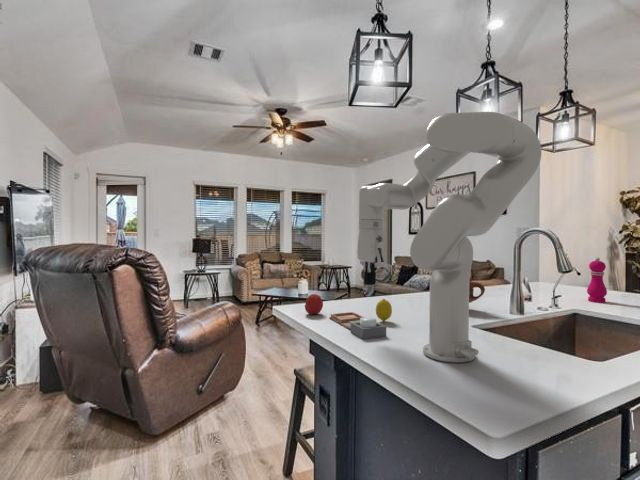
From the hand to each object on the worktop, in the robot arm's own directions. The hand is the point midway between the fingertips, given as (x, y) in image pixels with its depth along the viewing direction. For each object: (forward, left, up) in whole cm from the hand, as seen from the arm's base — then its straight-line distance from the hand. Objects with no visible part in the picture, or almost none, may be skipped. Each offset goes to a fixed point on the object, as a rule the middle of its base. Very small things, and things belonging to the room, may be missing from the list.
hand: (369, 284), depth 115 cm
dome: (-2, +2, -14) cm, 15 cm away
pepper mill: (+6, -120, -15) cm, 121 cm away
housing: (-2, +2, -15) cm, 15 cm away
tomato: (+30, +8, -15) cm, 34 cm away
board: (+11, 0, -15) cm, 19 cm away
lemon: (+10, -11, -15) cm, 21 cm away
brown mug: (+16, -50, -15) cm, 55 cm away
